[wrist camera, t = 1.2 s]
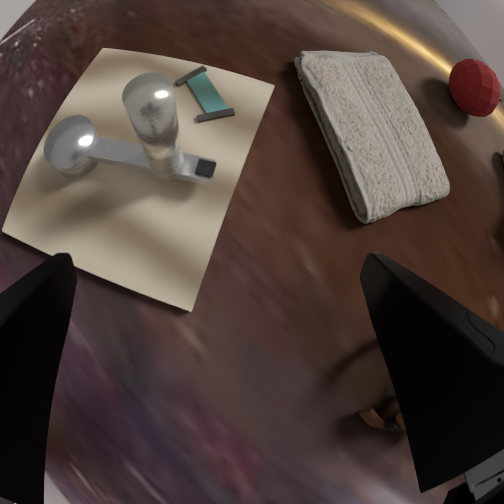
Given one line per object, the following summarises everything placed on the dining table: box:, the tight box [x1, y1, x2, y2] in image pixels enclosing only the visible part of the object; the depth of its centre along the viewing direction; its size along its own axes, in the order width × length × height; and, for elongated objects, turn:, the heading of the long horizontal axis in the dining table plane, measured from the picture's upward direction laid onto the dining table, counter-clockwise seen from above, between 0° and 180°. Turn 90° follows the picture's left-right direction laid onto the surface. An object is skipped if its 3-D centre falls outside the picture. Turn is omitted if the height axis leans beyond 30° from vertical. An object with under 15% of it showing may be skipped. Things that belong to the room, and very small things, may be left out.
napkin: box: [2, 48, 274, 312], centre depth 22 cm, size 20×18×1 cm
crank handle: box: [44, 72, 217, 186], centre depth 16 cm, size 14×4×10 cm, turn 77°
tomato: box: [449, 59, 502, 117], centre depth 25 cm, size 8×8×8 cm
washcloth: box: [294, 51, 449, 224], centre depth 25 cm, size 12×18×3 cm, turn 18°
